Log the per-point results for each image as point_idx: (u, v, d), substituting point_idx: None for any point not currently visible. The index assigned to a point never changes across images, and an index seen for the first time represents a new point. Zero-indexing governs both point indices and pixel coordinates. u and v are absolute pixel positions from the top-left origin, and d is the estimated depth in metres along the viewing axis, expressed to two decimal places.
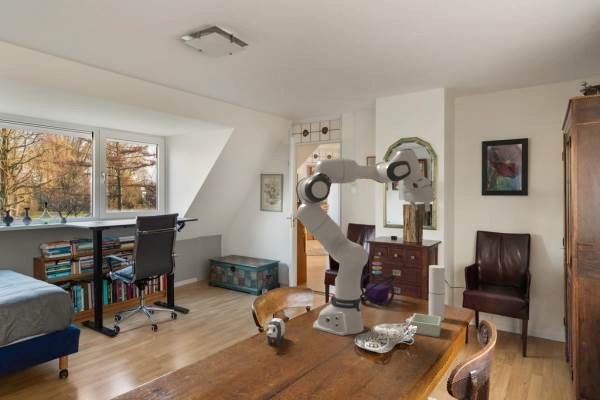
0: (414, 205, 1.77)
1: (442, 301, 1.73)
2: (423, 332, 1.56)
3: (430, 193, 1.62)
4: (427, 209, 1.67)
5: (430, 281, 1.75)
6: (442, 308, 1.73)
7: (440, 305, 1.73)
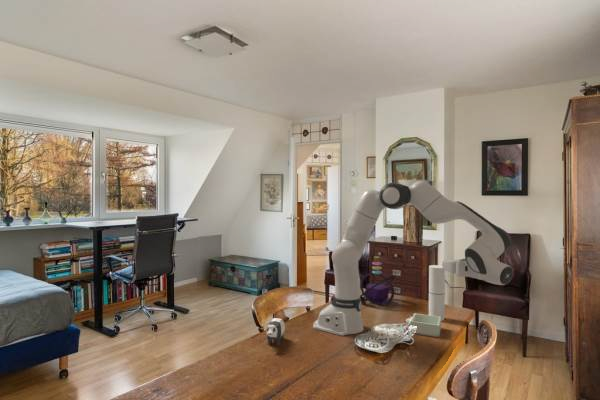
0: None
1: (442, 301, 1.73)
2: (423, 332, 1.56)
3: (447, 267, 1.54)
4: None
5: (430, 281, 1.75)
6: (442, 308, 1.73)
7: (440, 305, 1.73)
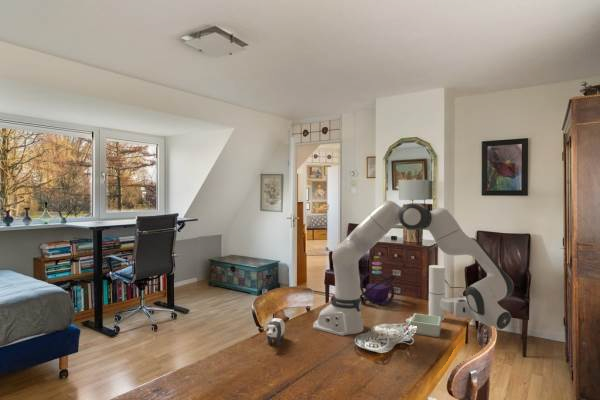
0: None
1: None
2: (423, 332, 1.56)
3: (445, 307, 1.55)
4: (443, 299, 1.63)
5: (430, 281, 1.75)
6: None
7: None
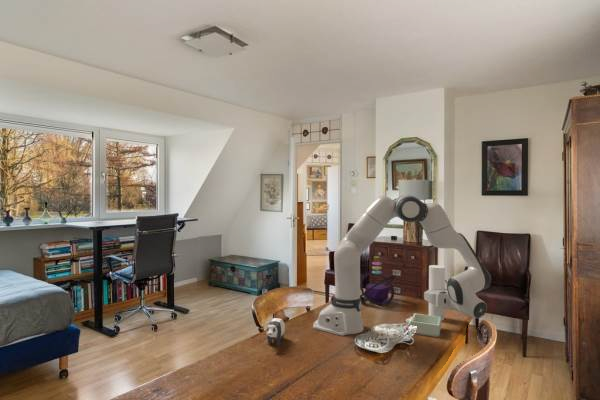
0: None
1: None
2: (423, 332, 1.56)
3: (428, 298, 1.67)
4: (427, 291, 1.75)
5: (430, 281, 1.75)
6: (442, 308, 1.73)
7: None
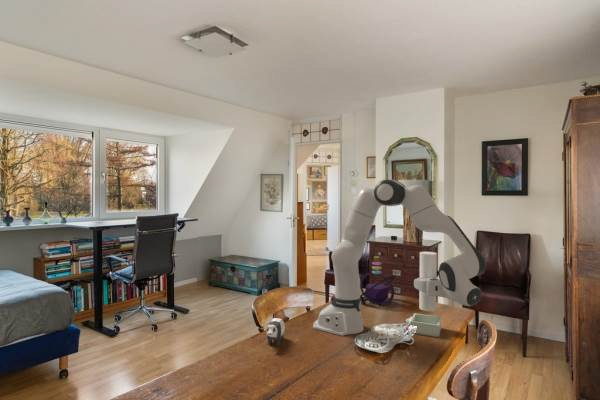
0: None
1: None
2: (423, 332, 1.56)
3: (418, 286, 1.54)
4: (418, 279, 1.62)
5: (421, 269, 1.63)
6: (433, 297, 1.61)
7: None
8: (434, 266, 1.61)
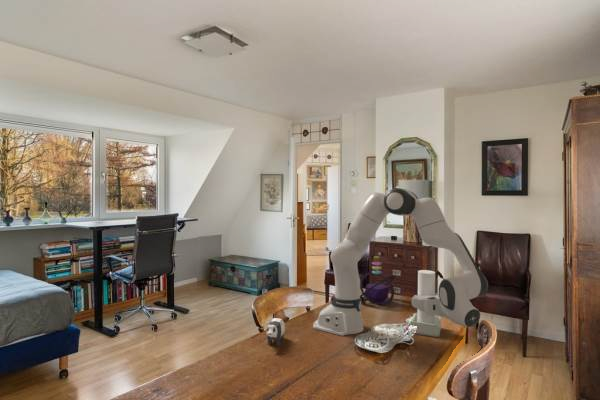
0: None
1: None
2: (423, 332, 1.56)
3: (415, 304, 1.51)
4: (415, 296, 1.60)
5: (419, 288, 1.60)
6: (432, 317, 1.58)
7: None
8: (432, 285, 1.58)
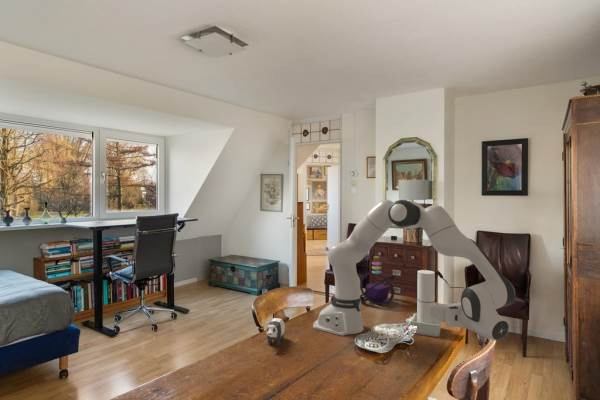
0: None
1: None
2: (423, 332, 1.56)
3: (435, 314, 1.39)
4: (433, 305, 1.47)
5: (418, 288, 1.60)
6: (431, 317, 1.58)
7: (429, 315, 1.58)
8: (432, 285, 1.58)
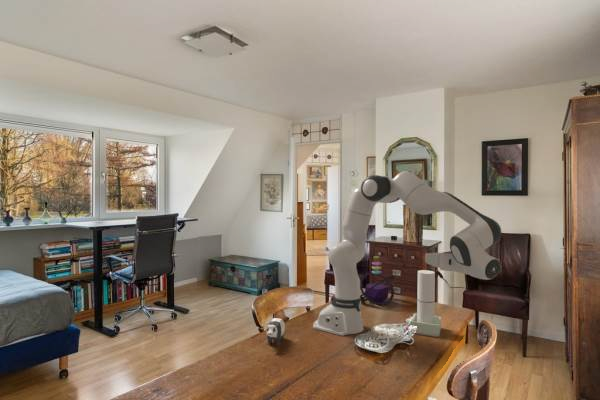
0: None
1: (431, 310, 1.58)
2: (423, 332, 1.56)
3: (429, 260, 1.41)
4: None
5: (418, 288, 1.60)
6: (431, 317, 1.58)
7: (429, 315, 1.58)
8: (432, 286, 1.58)
